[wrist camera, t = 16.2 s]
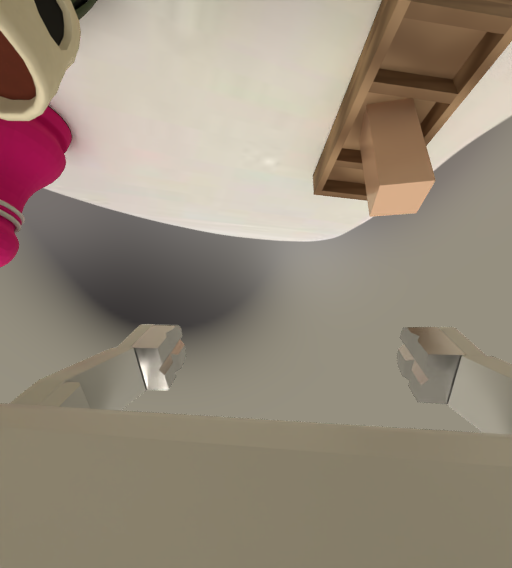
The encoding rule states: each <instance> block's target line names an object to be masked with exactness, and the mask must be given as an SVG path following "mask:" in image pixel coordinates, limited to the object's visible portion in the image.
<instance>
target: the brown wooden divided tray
mask: <svg viewBox="0 0 512 568" xmlns="http://www.w3.org/2000/svg"><path fill="white" fill-rule="evenodd" d="M511 41H512V0H382V2H381V5H380V7H379V10H378V12H377V15H376V17H375V20H374V23H373V25H372V28H371V30H370V33H369V35H368V38H367V40H366V43H365V45H364V48H363V50H362V53H361V55H360V58H359V61H358V63H357V66H356V68H355V71H354V73H353V76H352V78H351V81H350V83H349V86H348V88H347V91H346V93H345V96H344V99H343V101H342V104H341V106H340V109H339V111H338V114H337V116H336V119H335V121H334V124H333V126H332V129H331V132H330V134H329V137H328V139H327V142H326V144H325V147H324V149H323V152H322V154H321V157H320V159H319V162H318V164H317V167H316V170H315V172H314V175H313V186H314V194H315V195H323V196H332V197H341V198H350V199H358V200H367V193H366V186H365V179H364V172H363V165H362V157H361V150H360V143H359V141H360V136H361V130H362V125H363V120H364V115H365V109H366V105H367V104H373V103H380V102H386V101H392V100H399V99H405V98H412V99H413V101H414V104H415V108H416V112H417V115H418V119H419V122H420V126H421V130H422V133H423V137H424V140H425V144H426V146H427V144H428V143H429V142H430V141H431V139H432V138H433V137H434V136H435V134H436V133H437V132H438V131H439V130H440V128H441V127H442V126H443V125H444V123H445V122H446V121H447V120H448V119H449V117H450V116H451V115H452V114H453V112H454V111H455V110H456V109H457V107H458V106H459V105H460V104H461V103H462V101H463V100H464V99H465V98H466V96H467V95H468V94H469V93H470V92H471V90H472V89H473V88H474V87H475V85H476V84H477V83H478V82H479V80H480V79H481V78H482V77H483V76H484V74H485V73H486V72H487V71H488V69H489V68H490V67H491V66H492V65H493V63H494V62H495V61H496V60H497V58H498V57H499V56H500V55H501V53H502V52H503V51H504V50H505V49H506V47H507V46H508V45H509V44H510V42H511Z"/></svg>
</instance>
